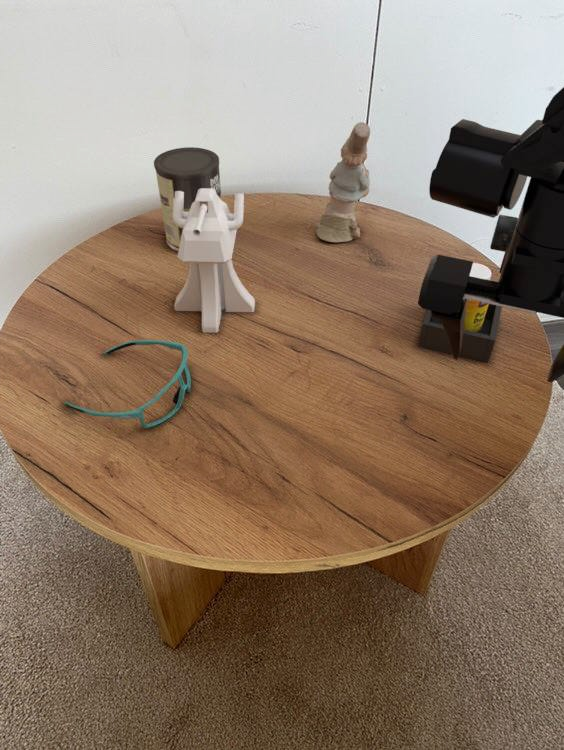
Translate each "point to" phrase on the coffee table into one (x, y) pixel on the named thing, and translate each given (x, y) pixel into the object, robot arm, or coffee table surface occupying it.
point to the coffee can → (184, 182)
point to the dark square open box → (472, 343)
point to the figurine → (346, 189)
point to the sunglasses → (177, 397)
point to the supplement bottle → (476, 302)
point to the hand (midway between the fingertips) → (501, 367)
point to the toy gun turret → (210, 257)
